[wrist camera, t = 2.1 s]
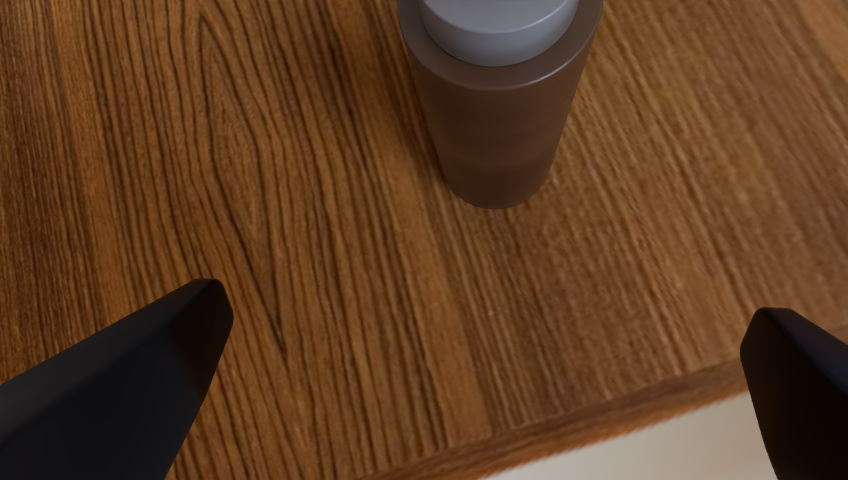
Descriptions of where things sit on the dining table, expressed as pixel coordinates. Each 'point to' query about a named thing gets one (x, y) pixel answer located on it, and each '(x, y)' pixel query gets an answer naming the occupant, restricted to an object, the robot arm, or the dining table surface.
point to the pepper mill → (497, 87)
